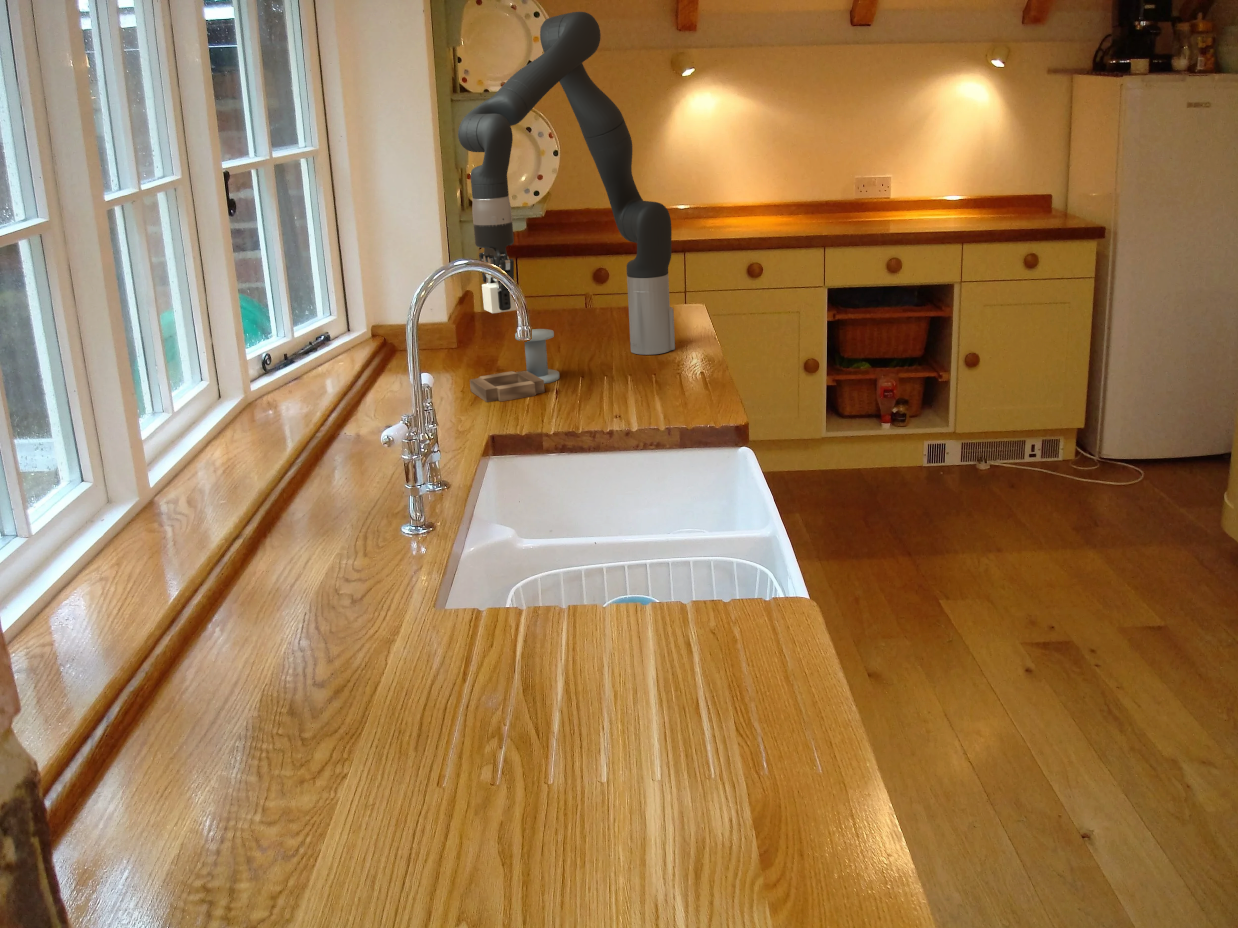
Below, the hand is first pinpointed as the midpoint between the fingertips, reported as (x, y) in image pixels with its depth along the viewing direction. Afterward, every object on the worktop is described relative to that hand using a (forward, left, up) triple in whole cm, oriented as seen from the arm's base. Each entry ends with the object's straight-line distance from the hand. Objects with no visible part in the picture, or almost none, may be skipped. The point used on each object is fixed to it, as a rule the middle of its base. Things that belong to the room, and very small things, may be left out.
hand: (500, 307), depth 241 cm
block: (0, 0, 0) cm, 0 cm away
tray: (0, 0, -17) cm, 17 cm away
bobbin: (-9, -6, -17) cm, 20 cm away
